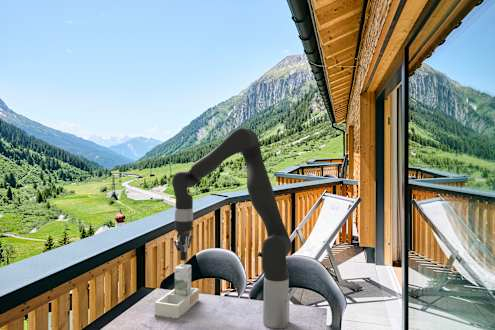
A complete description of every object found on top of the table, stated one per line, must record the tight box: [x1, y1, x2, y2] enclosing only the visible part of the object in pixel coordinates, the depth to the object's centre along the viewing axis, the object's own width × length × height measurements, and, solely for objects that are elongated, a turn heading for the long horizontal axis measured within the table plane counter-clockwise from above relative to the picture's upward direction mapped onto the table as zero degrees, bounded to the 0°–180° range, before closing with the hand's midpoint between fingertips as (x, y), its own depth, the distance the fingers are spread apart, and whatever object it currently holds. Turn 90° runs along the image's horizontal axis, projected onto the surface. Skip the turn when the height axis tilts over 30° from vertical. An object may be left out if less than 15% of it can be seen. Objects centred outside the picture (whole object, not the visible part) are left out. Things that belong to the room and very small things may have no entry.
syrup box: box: [174, 263, 192, 296], centre depth 152 cm, size 6×6×14 cm
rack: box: [154, 287, 200, 319], centre depth 148 cm, size 10×19×5 cm, turn 163°
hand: (183, 260), depth 152 cm, fingers closed
